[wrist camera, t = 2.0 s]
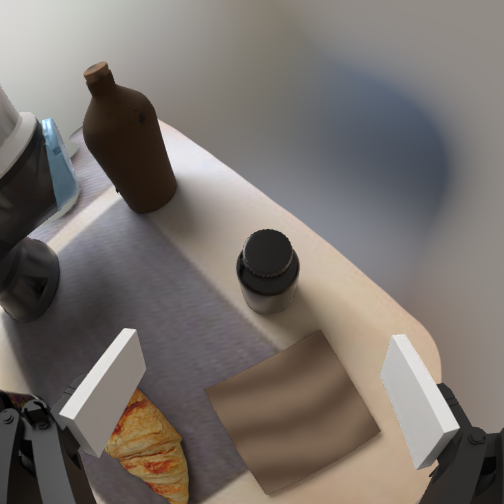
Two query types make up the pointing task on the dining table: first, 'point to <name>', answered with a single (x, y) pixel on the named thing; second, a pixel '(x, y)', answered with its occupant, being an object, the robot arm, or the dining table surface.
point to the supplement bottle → (268, 271)
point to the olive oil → (127, 141)
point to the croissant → (150, 449)
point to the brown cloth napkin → (293, 413)
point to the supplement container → (15, 400)
